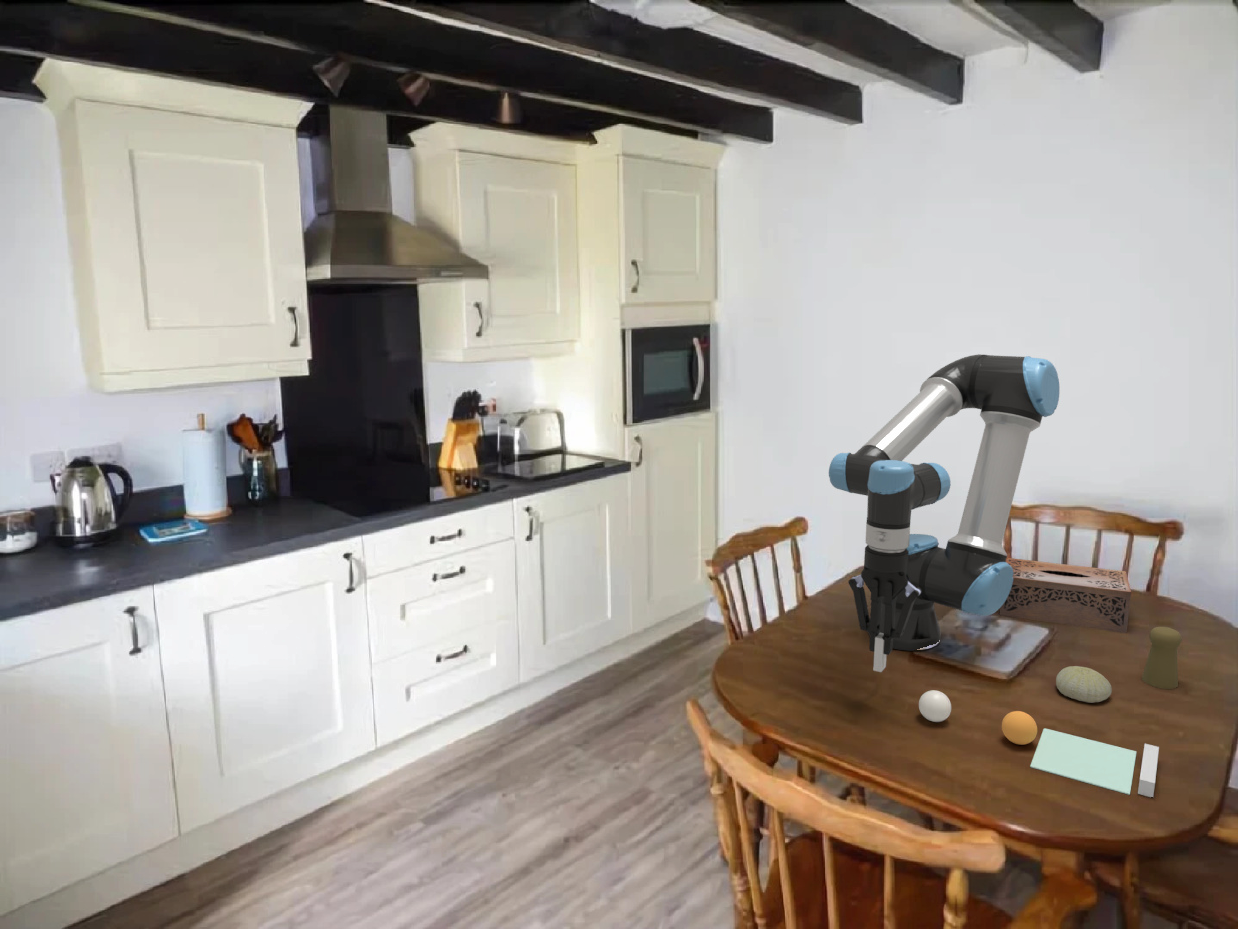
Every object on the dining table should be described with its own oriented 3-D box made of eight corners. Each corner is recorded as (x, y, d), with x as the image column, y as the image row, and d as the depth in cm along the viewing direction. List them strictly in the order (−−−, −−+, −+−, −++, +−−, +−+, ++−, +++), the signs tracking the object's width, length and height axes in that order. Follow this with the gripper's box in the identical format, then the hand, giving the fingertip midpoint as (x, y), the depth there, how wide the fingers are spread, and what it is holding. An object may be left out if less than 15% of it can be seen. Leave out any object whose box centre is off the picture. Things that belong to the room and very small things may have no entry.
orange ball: (997, 745, 144) (1000, 715, 142) (1004, 730, 148) (1006, 702, 147) (1032, 754, 141) (1035, 724, 139) (1038, 739, 145) (1041, 710, 144)
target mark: (1030, 767, 137) (1030, 766, 137) (1043, 729, 148) (1044, 728, 148) (1129, 795, 129) (1129, 793, 129) (1136, 752, 140) (1136, 751, 140)
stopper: (1137, 793, 129) (1139, 779, 129) (1143, 757, 139) (1144, 743, 139) (1153, 798, 128) (1154, 783, 128) (1157, 760, 138) (1159, 747, 137)
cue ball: (914, 722, 151) (915, 694, 150) (922, 709, 156) (924, 682, 155) (946, 731, 148) (947, 702, 147) (953, 717, 153) (955, 689, 152)
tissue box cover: (999, 616, 198) (1002, 576, 196) (1002, 595, 210) (1005, 557, 208) (1126, 634, 186) (1131, 592, 184) (1121, 611, 199) (1125, 571, 197)
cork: (1178, 692, 160) (1185, 638, 158) (1141, 684, 163) (1148, 631, 161) (1177, 679, 165) (1184, 626, 163) (1141, 672, 168) (1148, 620, 166)
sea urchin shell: (1095, 703, 153) (1069, 662, 157) (1064, 717, 159) (1040, 678, 163) (1126, 691, 157) (1100, 651, 161) (1095, 705, 163) (1070, 667, 167)
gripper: (844, 546, 152) (838, 667, 156) (917, 558, 144) (909, 685, 149) (858, 536, 158) (852, 653, 162) (929, 547, 150) (921, 669, 155)
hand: (879, 668), depth 156 cm, fingers closed
